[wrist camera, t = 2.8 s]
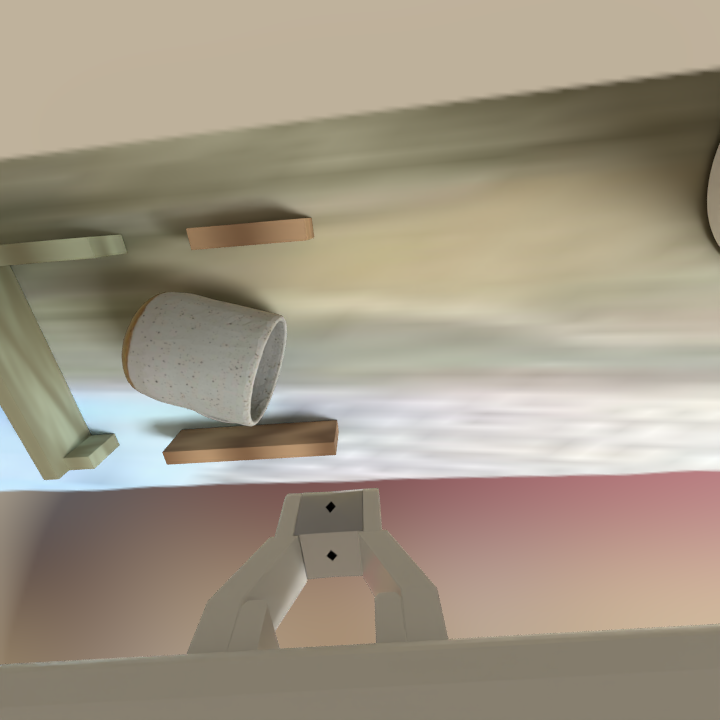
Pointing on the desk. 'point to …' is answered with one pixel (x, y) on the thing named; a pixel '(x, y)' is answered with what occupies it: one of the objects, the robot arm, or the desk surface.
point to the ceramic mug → (205, 355)
